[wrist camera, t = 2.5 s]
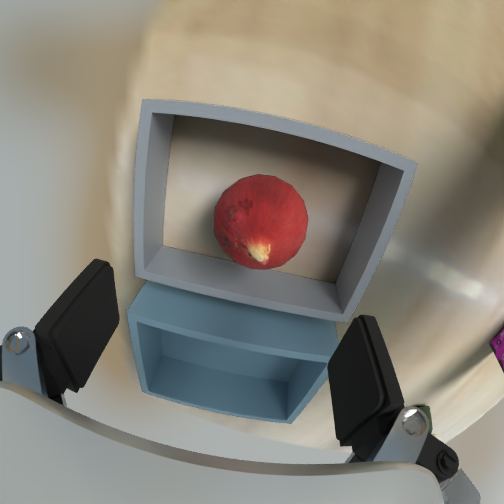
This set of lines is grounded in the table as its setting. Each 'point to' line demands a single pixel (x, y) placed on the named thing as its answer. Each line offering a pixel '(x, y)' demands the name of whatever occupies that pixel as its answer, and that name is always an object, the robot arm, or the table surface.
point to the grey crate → (240, 277)
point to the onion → (260, 222)
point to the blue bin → (228, 353)
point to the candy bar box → (499, 347)
